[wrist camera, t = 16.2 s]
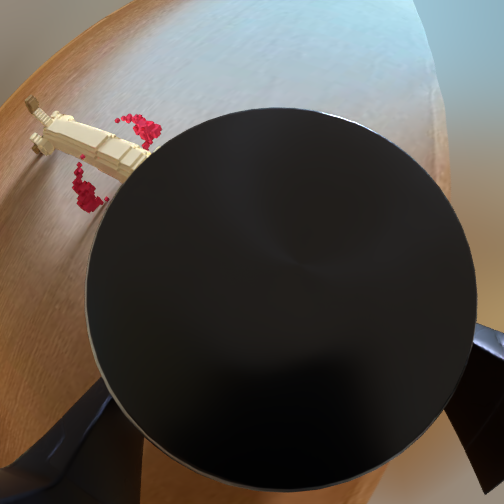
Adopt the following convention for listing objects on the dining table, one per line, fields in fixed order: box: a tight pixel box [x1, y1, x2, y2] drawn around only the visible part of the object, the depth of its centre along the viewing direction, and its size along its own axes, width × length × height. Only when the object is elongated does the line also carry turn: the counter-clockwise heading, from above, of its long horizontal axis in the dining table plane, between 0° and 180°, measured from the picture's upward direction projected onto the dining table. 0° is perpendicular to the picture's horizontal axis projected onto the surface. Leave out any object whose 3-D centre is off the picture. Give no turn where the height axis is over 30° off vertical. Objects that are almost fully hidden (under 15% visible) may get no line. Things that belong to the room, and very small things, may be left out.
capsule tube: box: [85, 108, 477, 492], centre depth 10 cm, size 6×6×13 cm
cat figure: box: [25, 95, 162, 213], centre depth 22 cm, size 10×9×25 cm
